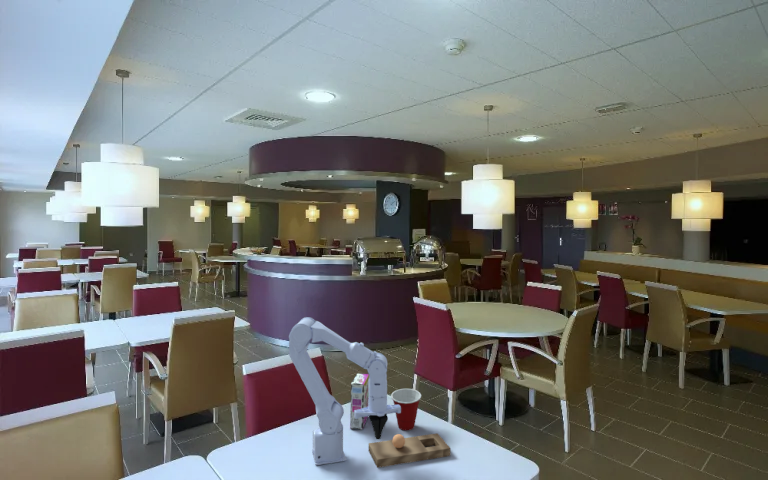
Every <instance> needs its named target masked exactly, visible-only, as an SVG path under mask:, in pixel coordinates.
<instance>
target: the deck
mask: <svg viewBox="0 0 768 480" xmlns="http://www.w3.org/2000/svg"><path fill="white" fill-rule="evenodd" d="M404 438H405V444H404V446H403V447H401V448H396V447H395V446H394V445H393V442H392V440H393V439H388V440H382V441H381V440H380V441H376V442H368V452H369V455H370V457H371V458H372V461H373V463H374V464H375V466H376V468H378V469H379V468H385V467H391V466H395V465H403V464H409V463H414V462H415V463H416V462H421V461H422V462H423V461H427V460H434V459H440V458H445V457H450V456H451V447H450V445H448V444H447V443H446V441H445V440H444V439H443V438H442V437H441V435H440V434H439V433H431V434H423V435H415V436H411V437H410V436H409V437H404Z"/></svg>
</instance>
